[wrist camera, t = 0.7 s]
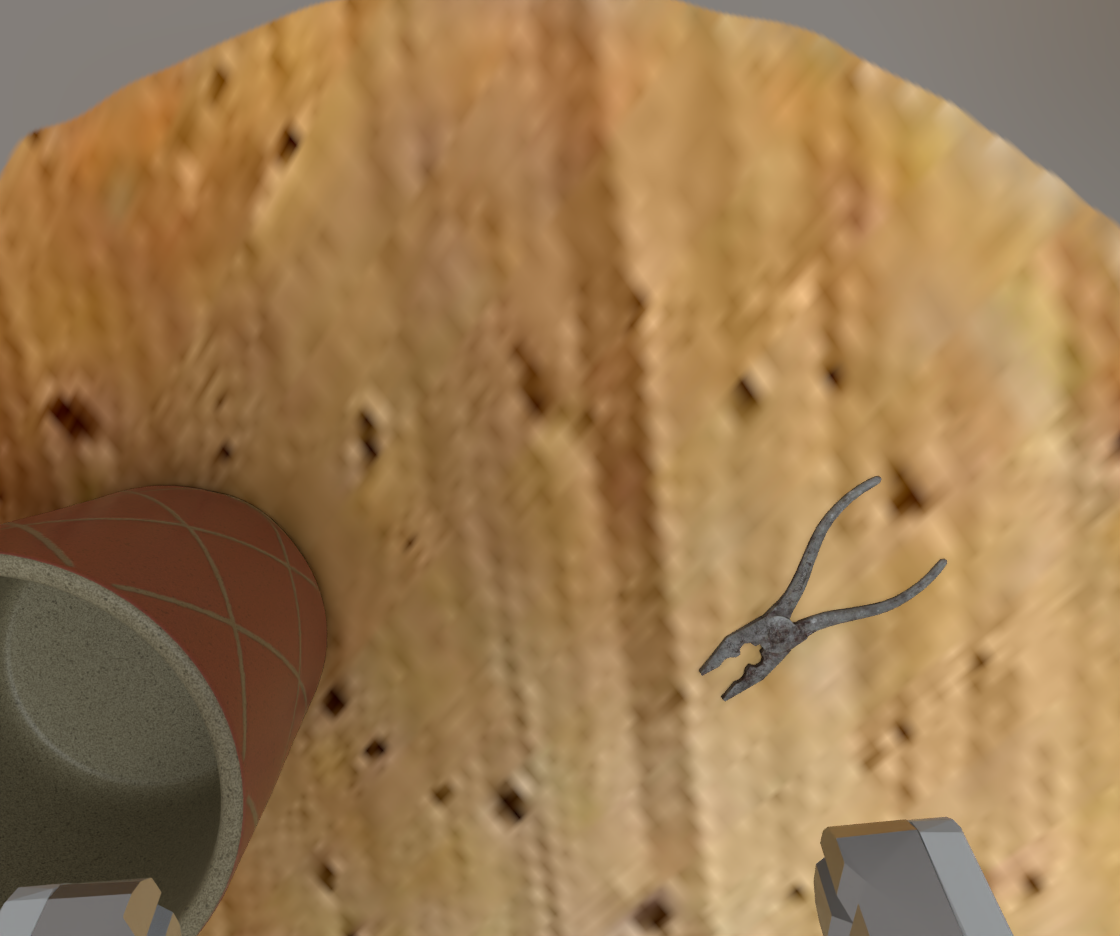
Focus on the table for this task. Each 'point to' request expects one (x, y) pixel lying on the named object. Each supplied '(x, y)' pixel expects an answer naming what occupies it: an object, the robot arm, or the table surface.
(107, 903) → the robot arm
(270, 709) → the planter
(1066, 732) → the table surface
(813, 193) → the table surface
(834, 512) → the pliers
